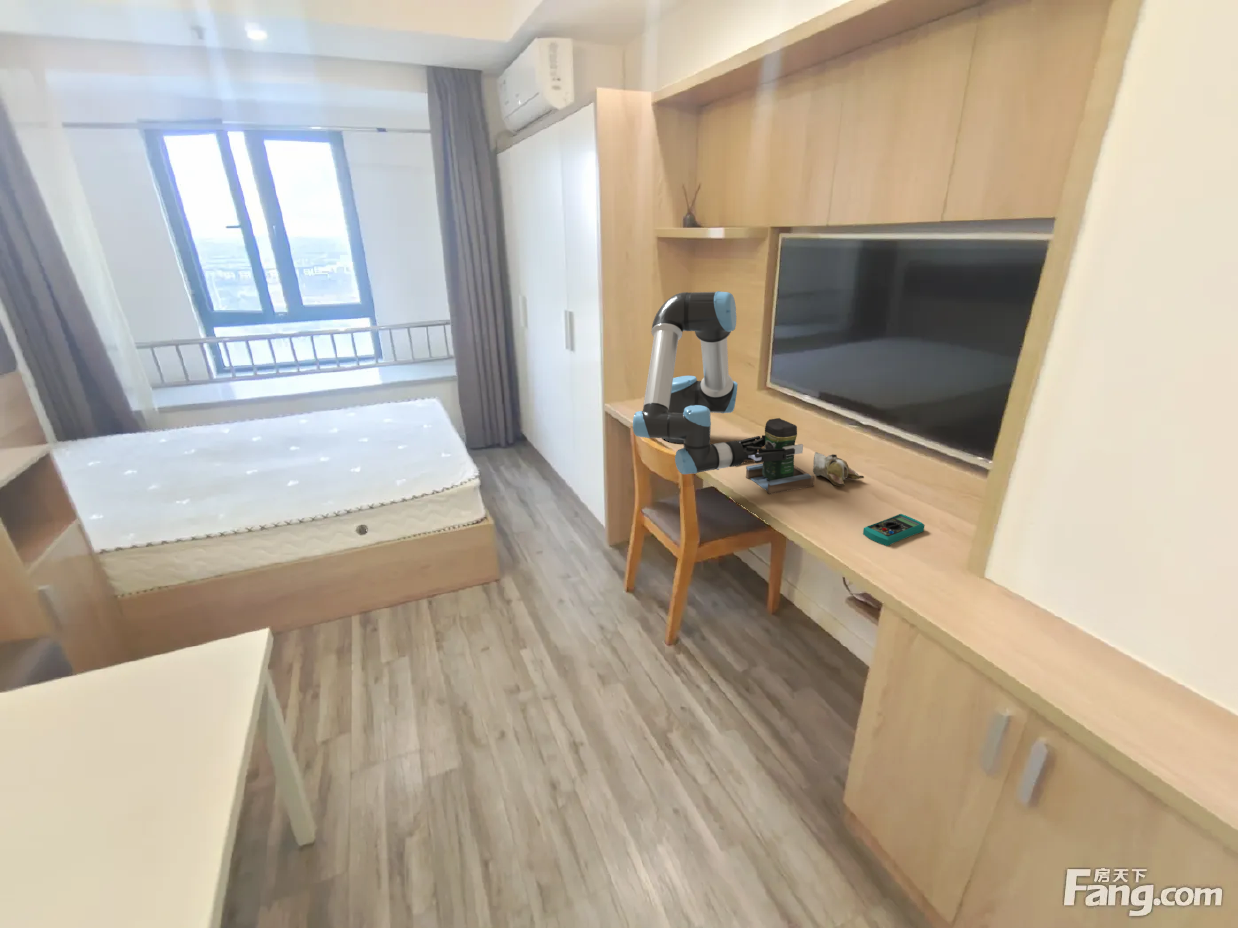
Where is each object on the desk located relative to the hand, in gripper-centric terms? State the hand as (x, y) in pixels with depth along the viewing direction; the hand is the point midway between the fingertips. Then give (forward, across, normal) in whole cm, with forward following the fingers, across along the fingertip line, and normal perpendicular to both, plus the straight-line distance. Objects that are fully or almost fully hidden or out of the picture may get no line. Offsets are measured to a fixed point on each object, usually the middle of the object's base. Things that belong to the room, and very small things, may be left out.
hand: (793, 443), depth 170 cm
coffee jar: (-5, 0, -11) cm, 12 cm away
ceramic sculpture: (+12, +5, -12) cm, 18 cm away
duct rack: (-5, -6, -12) cm, 14 cm away
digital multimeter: (+4, +38, -13) cm, 41 cm away
